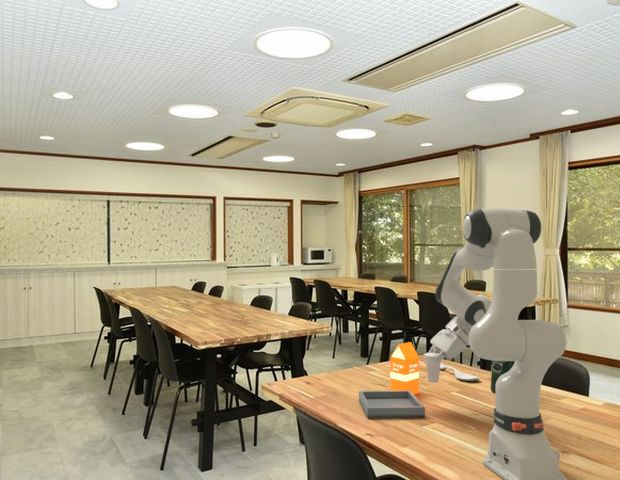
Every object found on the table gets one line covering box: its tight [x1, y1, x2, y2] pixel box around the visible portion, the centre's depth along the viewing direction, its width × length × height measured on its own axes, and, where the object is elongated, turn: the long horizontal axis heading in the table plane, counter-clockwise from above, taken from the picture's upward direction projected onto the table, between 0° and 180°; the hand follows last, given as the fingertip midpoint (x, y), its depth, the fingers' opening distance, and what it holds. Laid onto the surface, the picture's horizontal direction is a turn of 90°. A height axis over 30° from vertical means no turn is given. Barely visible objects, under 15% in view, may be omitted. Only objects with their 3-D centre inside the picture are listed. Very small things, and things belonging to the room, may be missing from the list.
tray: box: [358, 390, 426, 419], centre depth 178 cm, size 20×20×4 cm
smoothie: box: [423, 343, 442, 384], centre depth 177 cm, size 6×6×14 cm
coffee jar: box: [490, 360, 515, 394], centre depth 198 cm, size 10×8×19 cm
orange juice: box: [389, 341, 420, 395], centre depth 198 cm, size 8×9×20 cm
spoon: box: [424, 361, 480, 382], centre depth 227 cm, size 9×32×4 cm, turn 21°
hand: (431, 359), depth 177 cm, fingers closed on smoothie, 6 cm apart
